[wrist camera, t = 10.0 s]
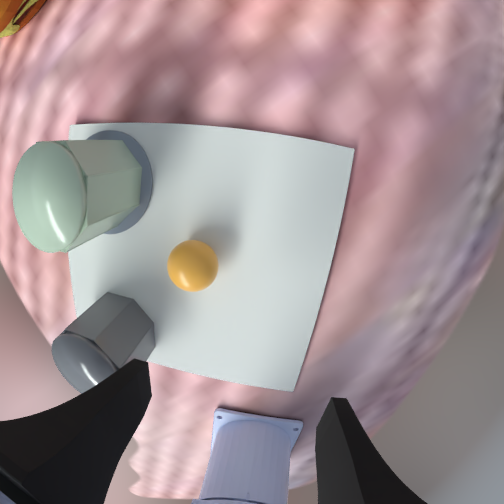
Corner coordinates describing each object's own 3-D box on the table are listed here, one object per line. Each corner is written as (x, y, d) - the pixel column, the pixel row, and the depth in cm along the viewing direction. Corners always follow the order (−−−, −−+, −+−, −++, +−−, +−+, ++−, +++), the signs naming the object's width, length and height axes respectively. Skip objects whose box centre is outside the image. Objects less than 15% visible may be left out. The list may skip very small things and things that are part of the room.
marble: (220, 283, 18) (209, 305, 16) (176, 274, 19) (158, 294, 16) (226, 238, 17) (213, 254, 15) (178, 230, 18) (159, 244, 15)
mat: (292, 387, 21) (292, 391, 21) (83, 334, 23) (80, 337, 22) (352, 149, 15) (354, 149, 15) (74, 125, 17) (70, 125, 16)
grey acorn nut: (156, 362, 22) (126, 413, 16) (99, 343, 22) (62, 385, 16) (153, 303, 20) (113, 353, 14) (90, 286, 20) (43, 324, 14)
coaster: (149, 240, 18) (147, 241, 18) (71, 225, 19) (68, 226, 18) (158, 130, 16) (156, 130, 15) (74, 131, 16) (71, 131, 16)
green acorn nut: (138, 230, 18) (83, 262, 12) (74, 218, 18) (15, 243, 12) (145, 140, 16) (84, 139, 10) (77, 140, 16) (13, 143, 10)
